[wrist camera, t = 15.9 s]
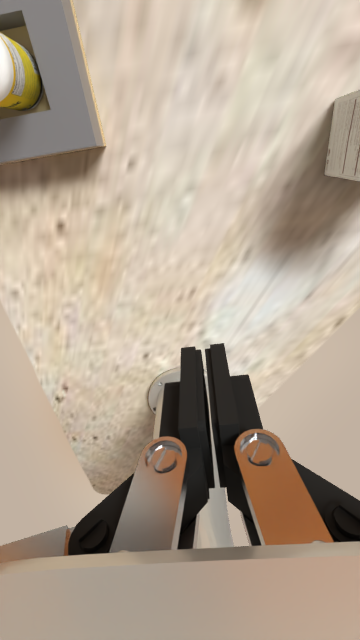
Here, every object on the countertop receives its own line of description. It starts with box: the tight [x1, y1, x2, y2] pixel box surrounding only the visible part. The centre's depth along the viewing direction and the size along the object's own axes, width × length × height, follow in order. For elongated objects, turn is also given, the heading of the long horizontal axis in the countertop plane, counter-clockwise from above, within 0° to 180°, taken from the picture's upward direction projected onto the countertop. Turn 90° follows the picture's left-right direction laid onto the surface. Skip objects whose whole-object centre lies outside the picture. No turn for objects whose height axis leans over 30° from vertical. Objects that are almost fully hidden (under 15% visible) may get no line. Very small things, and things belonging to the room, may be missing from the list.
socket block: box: [0, 0, 106, 165], centre depth 29 cm, size 14×14×4 cm
